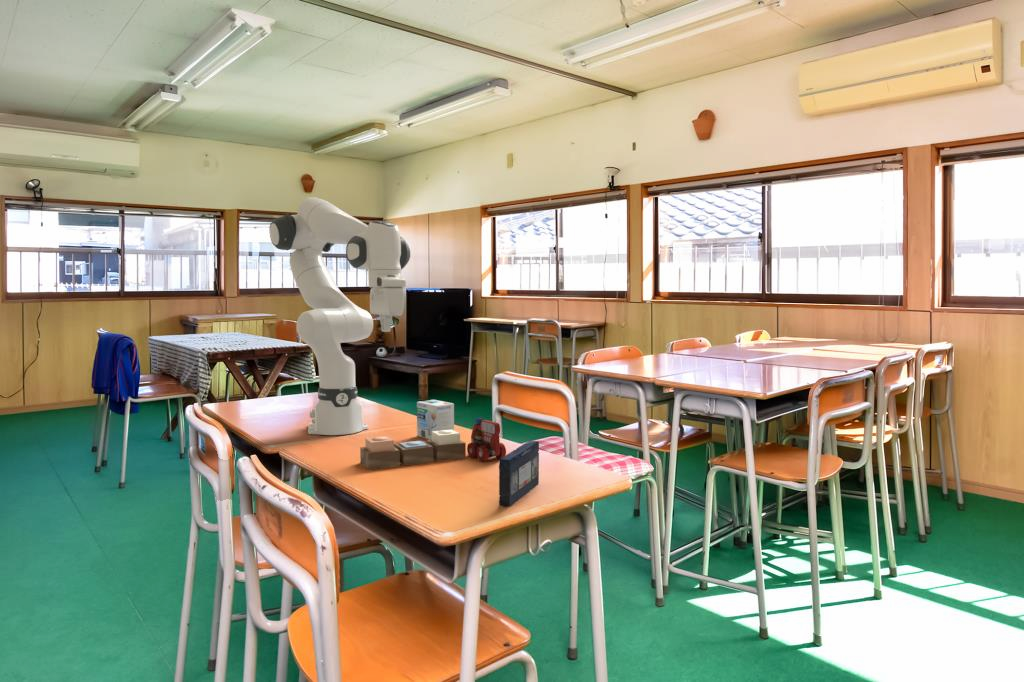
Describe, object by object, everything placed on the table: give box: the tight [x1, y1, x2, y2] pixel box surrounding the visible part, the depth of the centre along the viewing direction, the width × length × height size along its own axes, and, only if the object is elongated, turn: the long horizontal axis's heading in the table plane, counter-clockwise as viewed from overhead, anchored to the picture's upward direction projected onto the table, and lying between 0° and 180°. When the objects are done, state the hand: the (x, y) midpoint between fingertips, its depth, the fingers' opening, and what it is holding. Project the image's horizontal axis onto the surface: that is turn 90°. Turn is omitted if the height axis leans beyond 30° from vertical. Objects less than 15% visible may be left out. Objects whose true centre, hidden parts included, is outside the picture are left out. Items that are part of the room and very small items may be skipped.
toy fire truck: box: [466, 417, 507, 463], centre depth 181 cm, size 7×12×10 cm, turn 34°
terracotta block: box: [364, 435, 395, 453], centre depth 174 cm, size 6×6×4 cm
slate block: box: [398, 440, 428, 449], centre depth 178 cm, size 6×6×4 cm
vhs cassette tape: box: [498, 440, 540, 508], centre depth 148 cm, size 18×3×10 cm, turn 157°
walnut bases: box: [359, 439, 467, 471], centre depth 178 cm, size 8×26×4 cm, turn 117°
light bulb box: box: [416, 399, 455, 440], centre depth 206 cm, size 11×7×11 cm, turn 42°
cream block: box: [432, 429, 461, 445], centre depth 182 cm, size 6×6×4 cm
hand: (386, 331), depth 186 cm, fingers closed
